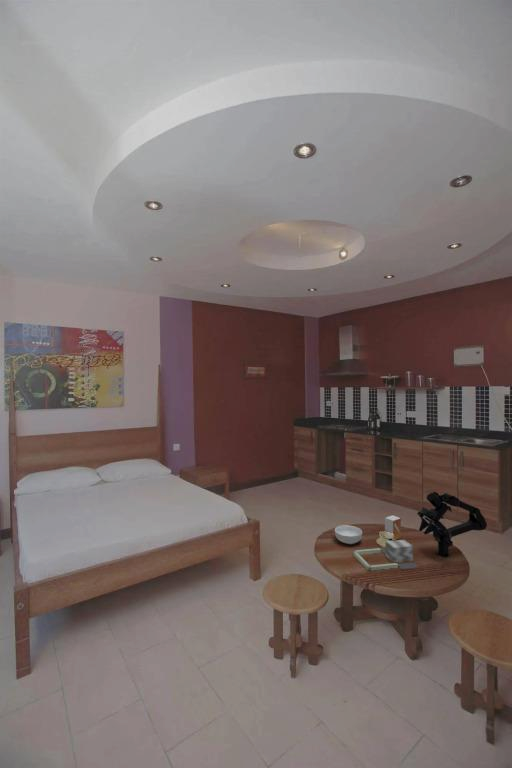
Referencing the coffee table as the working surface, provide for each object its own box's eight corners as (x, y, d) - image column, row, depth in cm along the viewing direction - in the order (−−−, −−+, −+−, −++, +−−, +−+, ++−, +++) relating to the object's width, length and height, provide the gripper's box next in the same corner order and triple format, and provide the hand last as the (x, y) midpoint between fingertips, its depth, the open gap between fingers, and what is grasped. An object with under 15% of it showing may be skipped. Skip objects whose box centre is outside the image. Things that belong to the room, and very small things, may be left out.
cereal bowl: (344, 533, 236) (344, 522, 236) (367, 541, 224) (367, 530, 223) (329, 541, 224) (329, 530, 224) (352, 550, 212) (352, 538, 212)
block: (404, 554, 207) (404, 539, 207) (412, 561, 199) (412, 545, 199) (385, 556, 205) (385, 541, 205) (393, 563, 197) (393, 547, 197)
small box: (393, 541, 224) (393, 520, 223) (384, 537, 229) (384, 517, 229) (401, 538, 228) (401, 518, 228) (392, 534, 233) (392, 514, 233)
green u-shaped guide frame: (394, 548, 214) (394, 545, 214) (418, 567, 192) (418, 564, 192) (351, 552, 209) (351, 549, 209) (370, 573, 187) (370, 569, 187)
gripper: (419, 497, 215) (403, 517, 213) (441, 508, 196) (423, 529, 194) (431, 509, 216) (415, 529, 214) (453, 521, 198) (436, 543, 196)
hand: (421, 532), depth 205 cm, fingers open, 4 cm apart
